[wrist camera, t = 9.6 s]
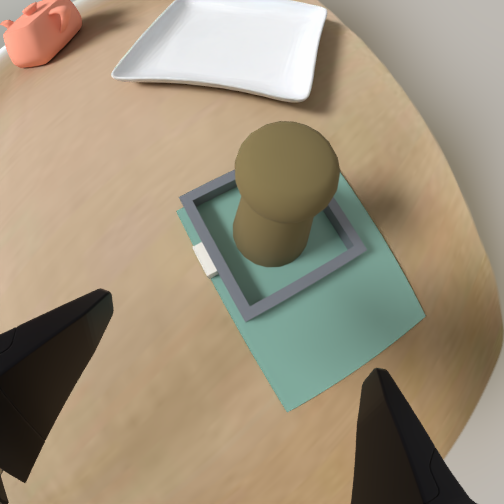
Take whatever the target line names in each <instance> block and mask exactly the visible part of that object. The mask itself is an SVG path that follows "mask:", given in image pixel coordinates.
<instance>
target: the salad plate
mask: <svg viewBox="0 0 504 504" xmlns="http://www.w3.org/2000/svg"><path fill="white" fill-rule="evenodd" d="M326 17H327V10H326V9H325V8H323V7H320V6H316V5H311V4H306V3H302V2H296V1H291V0H175V1H174V2H173V3H172V4H171V5H170V6H169V7H168V8H167V9H166V10H165V11H164V12H163V13H162V14H161V15H160V16H159V17H158V18H157V19H156V20H155V21H154V22H153V23H152V24H151V25H150V27H149V28H148V29H147V30H146V31H145V32H144V33H143V34H142V35H141V37H140V38H139V39H138V40H137V41H136V42H135V44H134V45H133V46H132V47H131V48H130V49H129V51H128V52H127V53H126V54H125V55H124V57H123V58H122V59H121V60H120V62H119V63H118V64H117V66H116V67H115V69H114V70H113V72H112V74H111V75H112V77H113V78H114V79H116V80H119V81H124V82H164V83H181V84H192V85H201V86H210V87H217V88H224V89H230V90H235V91H241V92H246V93H250V94H255V95H259V96H264V97H268V98H272V99H276V100H280V101H285V102H302V101H304V100H306V99H307V98H308V97H309V95H310V92H311V88H312V84H313V78H314V71H315V64H316V58H317V51H318V46H319V42H320V37H321V34H322V30H323V27H324V24H325V20H326Z"/></svg>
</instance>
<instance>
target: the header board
mask: <svg viewBox="0 0 504 504" xmlns="http://www.w3.org/2000/svg"><path fill="white" fill-rule="evenodd" d="M179 198H180V200H181V202H182V204H183V206H184V207H183V208H181V209H179V210H177V211H176V212H177V214H178V216H179V218H180V220H181V222H182V224H183V226H184V228H185V230H186V232H187V234H188V236H189V238H190V240H191V242H192V244H193V247H192V248H193V250H194V252H195V254H196V256H197V257H198V259H199V261H200V263H201V265H202V267H203V269H204V271H205V273H206V275H207V276H208V278H209V279H210V278H211V280H212V282H213V284H214V286H215V288H216V290H217V291H218V293H219V295H220V297H221V299H222V301H223V303H224V304H225V306H226V308H227V310H228V312H229V314H230V315H231V317H232V319H233V321H234V323H235V324H236V326H237V328H238V330H239V331H240V333H241V335H242V337H243V339H244V340H245V342H246V344H247V346H248V347H249V349H250V351H251V353H252V354H253V356H254V358H255V360H256V361H257V363H258V365H259V366H260V368H261V370H262V371H263V373H264V375H265V377H266V378H267V380H268V382H269V383H270V385H271V387H272V388H273V390H274V392H275V393H276V395H277V397H278V398H279V400H280V402H281V403H282V405H283V406H284V408H285V410H286V411H287V412H289V411H291V410H292V409H294V408H296V407H298V406H300V405H301V404H303V403H305V402H306V401H308V400H310V399H312V398H313V397H315V396H317V395H318V394H320V393H321V392H323V391H325V390H326V389H328V388H329V387H331V386H333V385H334V384H336V383H337V382H339V381H340V380H342V379H343V378H345V377H346V376H348V375H349V374H351V373H352V372H354V371H355V370H357V369H358V368H360V367H361V366H363V365H364V364H365V363H367V362H368V361H370V360H371V359H372V358H374V357H375V356H376V355H378V354H379V353H381V352H382V351H383V350H385V349H386V348H387V347H388V346H390V345H391V344H392V343H394V342H395V341H396V340H397V339H399V338H400V337H401V336H403V335H404V334H405V333H406V332H407V331H409V330H410V329H411V328H412V327H414V326H415V325H416V324H417V323H418V322H419V321H421V320H422V319H423V318H424V317H425V314H424V312H423V310H422V308H421V306H420V304H419V302H418V300H417V298H416V296H415V294H414V292H413V290H412V288H411V286H410V284H409V282H408V281H407V279H406V277H405V275H404V273H403V271H402V270H401V268H400V266H399V264H398V263H397V261H396V259H395V257H394V256H393V254H392V252H391V250H390V249H389V247H388V245H387V244H386V242H385V240H384V239H383V237H382V235H381V234H380V232H379V230H378V229H377V227H376V225H375V224H374V222H373V221H372V219H371V218H370V216H369V214H368V213H367V211H366V210H365V208H364V207H363V205H362V204H361V202H360V201H359V199H358V198H357V196H356V195H355V193H354V192H353V190H352V189H351V187H350V186H349V184H348V183H347V181H346V180H345V179H344V177H343V176H342V174H341V173H340V177H339V182H338V188H337V191H336V193H335V195H334V196H333V198H332V200H331V201H330V203H329V204H328V206H327V207H326V208H325V209H324V210H322V211H321V212H320V213H318V214H317V215H316V216H314V218H313V222H312V226H311V230H310V234H309V238H308V242H307V245H306V247H305V249H304V250H303V252H302V253H301V255H300V256H299V257H298V258H296V259H295V260H294V261H293V262H291V263H289V264H286V265H284V266H281V267H264V266H260V265H256V264H254V263H253V262H251V261H250V260H248V259H246V258H245V257H244V256H243V255H242V253H241V252H240V251H239V250H238V248H237V246H236V244H235V241H234V238H233V222H234V219H235V215H236V212H237V209H238V205H239V202H240V199H241V195H240V192H239V189H238V187H237V184H236V181H235V170H233V171H231V172H229V173H227V174H224V175H222V176H220V177H218V178H216V179H214V180H212V181H210V182H208V183H206V184H204V185H202V186H200V187H198V188H196V189H194V190H192V191H190V192H188V193H186V194H184V195H182V196H180V197H179Z"/></svg>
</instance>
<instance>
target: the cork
mask: <svg viewBox="0 0 504 504" xmlns="http://www.w3.org/2000/svg"><path fill="white" fill-rule="evenodd" d="M339 177H340V168H339V162H338V157H337V156H336V154H335V152H334V150H333V148H332V147H331V145H330V143H329V142H328V141H327V140H326V139H325V138H324V137H323V136H322V135H321V134H320V133H319V132H318V131H316V130H314V129H312V128H311V127H309V126H307V125H304V124H300V123H296V122H286V121H279V122H275V123H271V124H267V125H265V126H263V127H261V128H260V129H258V130H256V131H254V132H253V133H251V134H250V135H249V136H248V138H247V139H246V140H245V141H244V142H243V143H242V145H241V147H240V149H239V152H238V155H237V158H236V160H235V181H236V184H237V187H238V189H239V192H240V195H241V199H240V202H239V205H238V209H237V212H236V215H235V219H234V222H233V238H234V241H235V244H236V246H237V248H238V250H239V251H240V252H241V253H242V255H243V256H244V257H245V258H246V259H248V260H250V261H251V262H253V263H254V264H256V265H260V266H264V267H281V266H284V265H286V264H289V263H291V262H293V261H294V260H295V259H296V258H298V257H299V256H300V255H301V253H302V252H303V250H304V249H305V247H306V245H307V242H308V238H309V234H310V230H311V226H312V222H313V218H314V216H316V215H317V214H318V213H320V212H321V211H322V210H324V209H325V208H326V207H327V206H328V204H329V203H330V201H331V200H332V198H333V196H334V195H335V193H336V191H337V188H338V182H339Z"/></svg>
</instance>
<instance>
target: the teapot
mask: <svg viewBox="0 0 504 504" xmlns="http://www.w3.org/2000/svg"><path fill="white" fill-rule="evenodd" d="M22 12H23V13H24V14H23V15H22V16H21V17H19V18H18V19H17V20H16V21H15V22H13V21H11V20H5V21H3V22H2V23H1V24H0V25H3V26H5V27H6V28H7V31H6V32H5V33H4V35H3V37H4V42H5V45H6V49H7V52H8V54H9V56H10V58H11V60H12V62H13V63H14V64H15V65H16V66H18V67H20V68H26V67H33V66H39V65H43V64H46V63H47V62H49V61H50V60H51V59H52V58H53V57H54V56H55V55H56V54H57V53H58V52H59V51H60V50H61V49H62V48H63V47H64V46H65V45H66V44H67V43H68V42H69V41H70V40H71V39H72V38H73V36H74V35H75V34H76V33H77V32H78V31H79V30H80V28H81V27H82V18H81V15H80V13H79V12H78V10H77V8H76V7H75V5H74V4H73V3H72V2H71V1H70V0H42V1H40V2H38V3H37V2H35V3H32V4H31V5H29V6H27V7H26V8H25V9H24V10H23V11H22Z"/></svg>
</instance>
